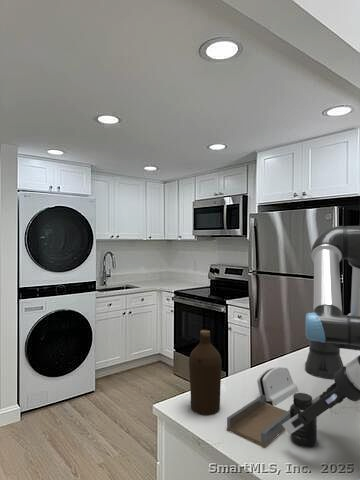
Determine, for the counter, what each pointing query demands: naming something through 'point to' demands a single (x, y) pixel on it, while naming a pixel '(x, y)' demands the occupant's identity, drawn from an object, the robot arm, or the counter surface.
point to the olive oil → (205, 376)
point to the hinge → (276, 384)
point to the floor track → (258, 421)
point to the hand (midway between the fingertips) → (297, 419)
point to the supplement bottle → (307, 433)
